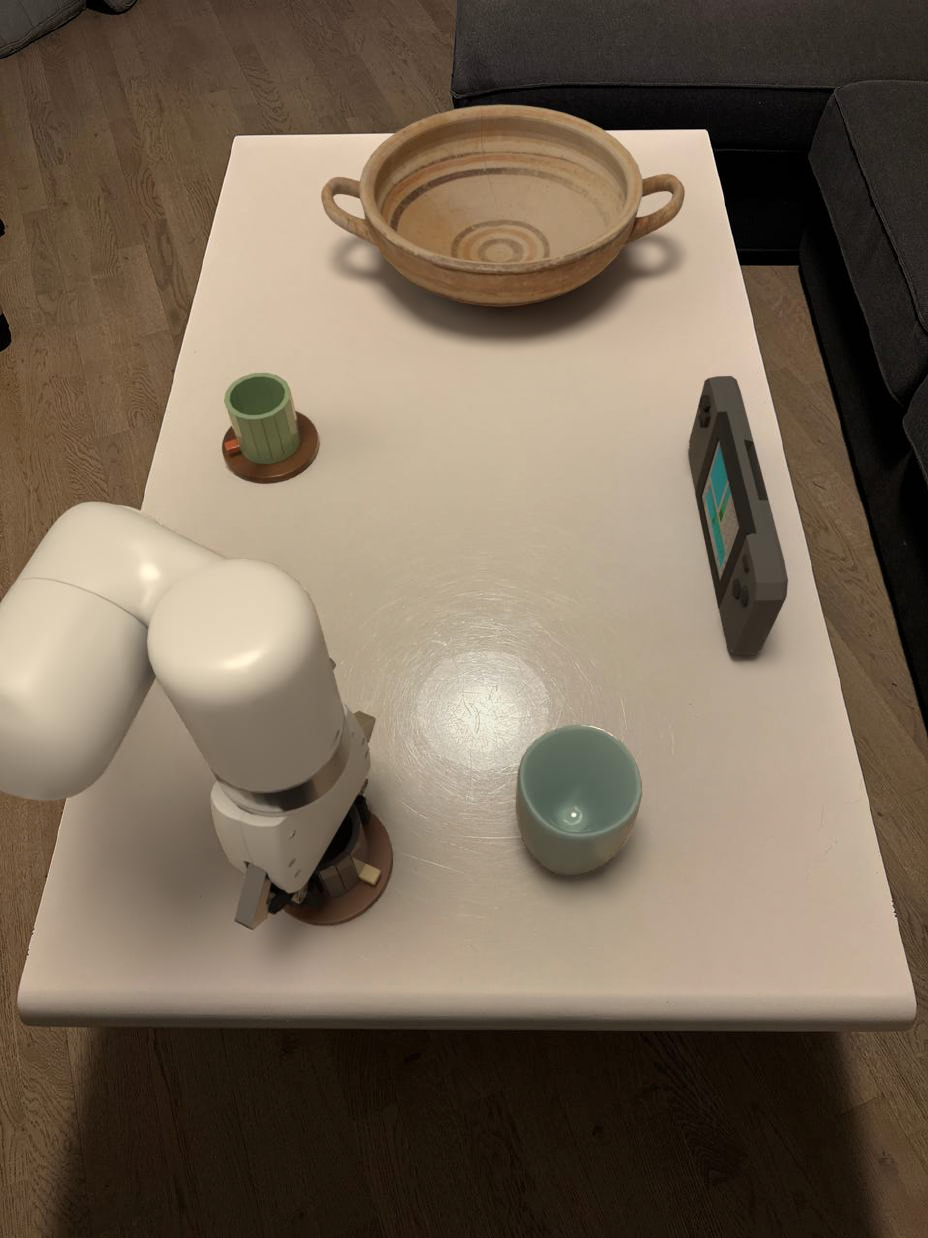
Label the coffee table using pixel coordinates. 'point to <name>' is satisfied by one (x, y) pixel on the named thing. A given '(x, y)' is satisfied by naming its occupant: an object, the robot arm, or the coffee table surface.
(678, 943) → the coffee table surface
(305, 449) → the brown dish
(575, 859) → the cup
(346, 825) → the dark bucket
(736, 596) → the handheld gaming console
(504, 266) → the ceramic bowl
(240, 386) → the green grooved mug
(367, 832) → the dark base
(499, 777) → the coffee table surface
